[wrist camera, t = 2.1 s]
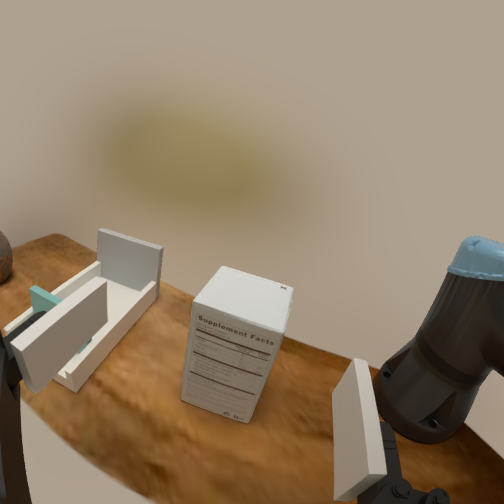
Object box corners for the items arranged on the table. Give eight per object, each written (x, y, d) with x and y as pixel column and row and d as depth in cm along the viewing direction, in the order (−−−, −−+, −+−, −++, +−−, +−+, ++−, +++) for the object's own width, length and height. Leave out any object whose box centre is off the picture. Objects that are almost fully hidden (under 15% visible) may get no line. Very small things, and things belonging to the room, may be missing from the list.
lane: (76, 393, 22) (61, 333, 19) (10, 348, 23) (-7, 289, 20) (158, 296, 42) (163, 246, 39) (101, 274, 42) (102, 227, 39)
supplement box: (203, 357, 33) (222, 262, 28) (263, 378, 32) (297, 286, 27) (177, 400, 26) (190, 298, 21) (248, 426, 25) (287, 332, 20)
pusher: (88, 357, 26) (83, 317, 24) (37, 327, 27) (29, 288, 25) (93, 352, 27) (89, 312, 25) (41, 323, 28) (34, 284, 26)
